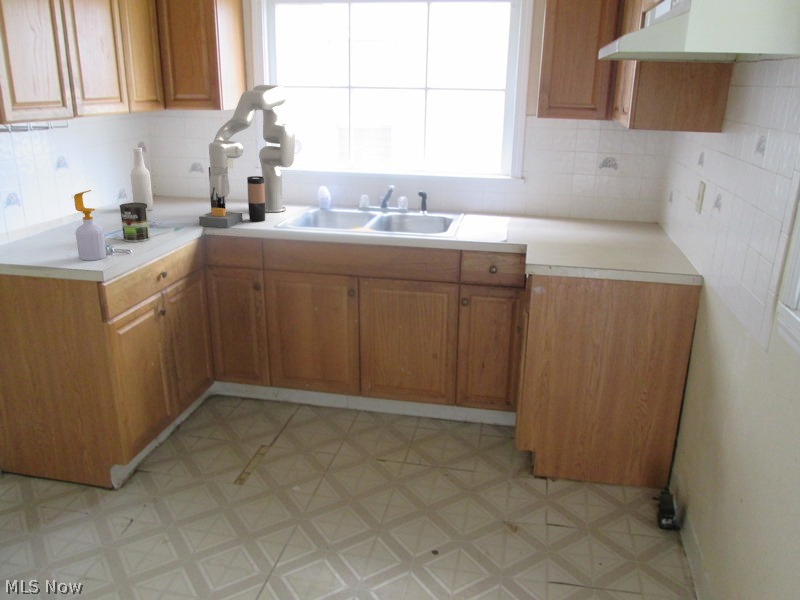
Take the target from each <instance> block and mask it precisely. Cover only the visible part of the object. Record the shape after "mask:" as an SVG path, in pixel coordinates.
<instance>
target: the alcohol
mask: <svg viewBox="0 0 800 600" xmlns="http://www.w3.org/2000/svg"><path fill="white" fill-rule="evenodd" d="M132 149H133V167H132V169H131V171H130V181H131V183H130V184H131V190H132V191H131V192H132V200H133V202H132V203H145V204H147V211H148V212H151V211H154V200H153V191H152V180H151V173H150V170H149V169H148V168H147V167H146V165H145V161H144V160H145V159H144V154H143V148H142V147H139V146H138V147H137V146H135V147H133V148H132Z"/></svg>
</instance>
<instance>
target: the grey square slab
mask: <svg viewBox="0 0 800 600" xmlns="http://www.w3.org/2000/svg"><path fill="white" fill-rule="evenodd" d="M198 221H199V223H198V224H199V226H201V227H202V226H203V227H214V228H227V229H230V228H231V227H233V226H235V225H238V224H240V222H241V223H243V221H244V220H243V212H235V211H234V212H233V211H226V216H213V215H211V212H207V213H205V214H202V215H199V216H198Z"/></svg>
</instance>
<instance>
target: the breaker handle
mask: <svg viewBox="0 0 800 600" xmlns="http://www.w3.org/2000/svg"><path fill="white" fill-rule="evenodd" d="M225 209H226V207H225V208H211V207H210V211H211V215H213V216H226V212H227V210H226V211H225Z"/></svg>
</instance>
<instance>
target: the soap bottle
mask: <svg viewBox="0 0 800 600" xmlns="http://www.w3.org/2000/svg"><path fill="white" fill-rule="evenodd" d="M89 192H92V190H91V189H89V190H86V191H85V190H84V191H82V192H79V193H75V194H74V195H73V198H74V199H73V201H74V207H75V210H76V211H77V212H82V214H84V216H83V217H82V224H81V225H79V226H78V228H76V230H75V237H76V238H75V240H76V245H77V252H78V253H77V254H78V258H79V260H82V261H89V262H90V261H99V260H102V259H104V258H107V249H106V242H105V241H106V240H105V234H104V230H103V227H101V226H100V225H99V224H96V223H95V222H94V217H93V216H91V214H92V212H93V211H95V210H96V209H95V208H91V207H90V208H88V207H85V205H84V199H83V195H84V194H86V193H89Z"/></svg>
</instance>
